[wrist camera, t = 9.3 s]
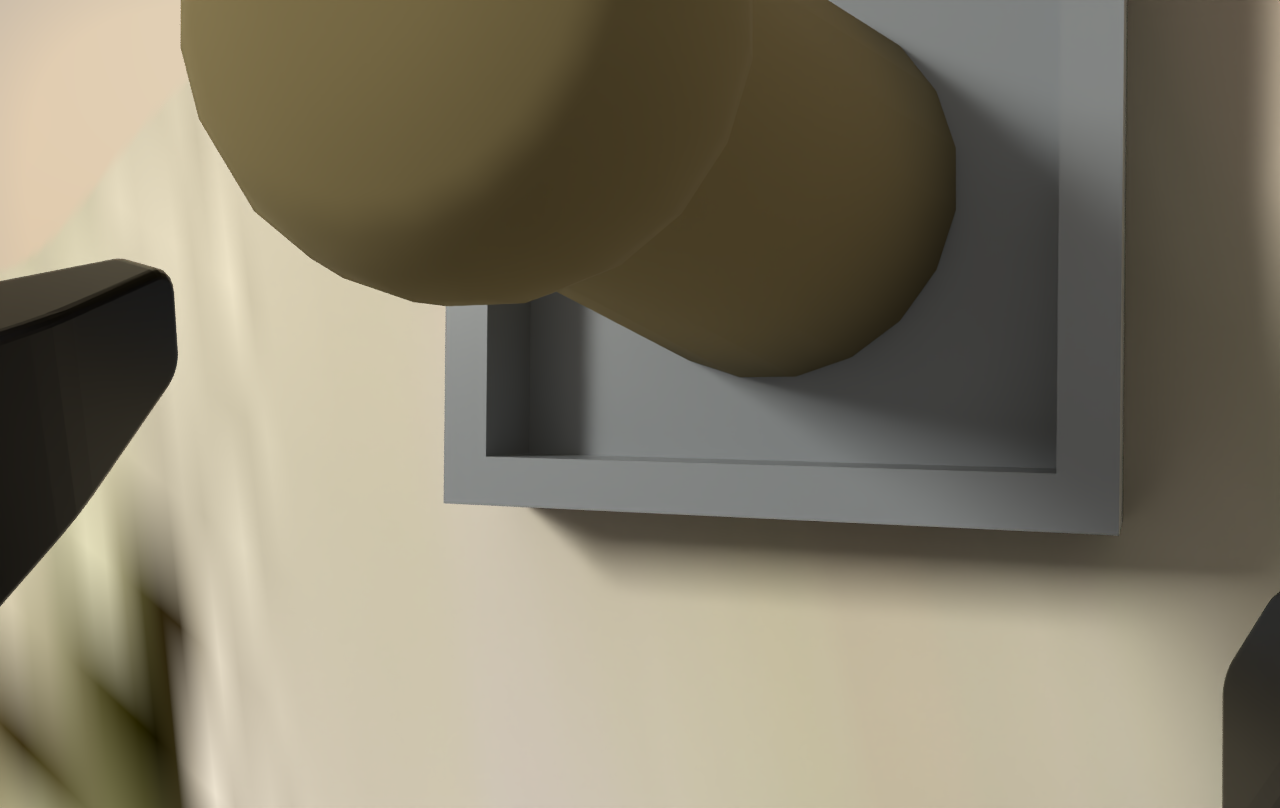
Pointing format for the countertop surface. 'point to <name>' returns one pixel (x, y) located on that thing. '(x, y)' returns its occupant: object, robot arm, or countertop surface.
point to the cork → (594, 160)
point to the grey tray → (891, 364)
